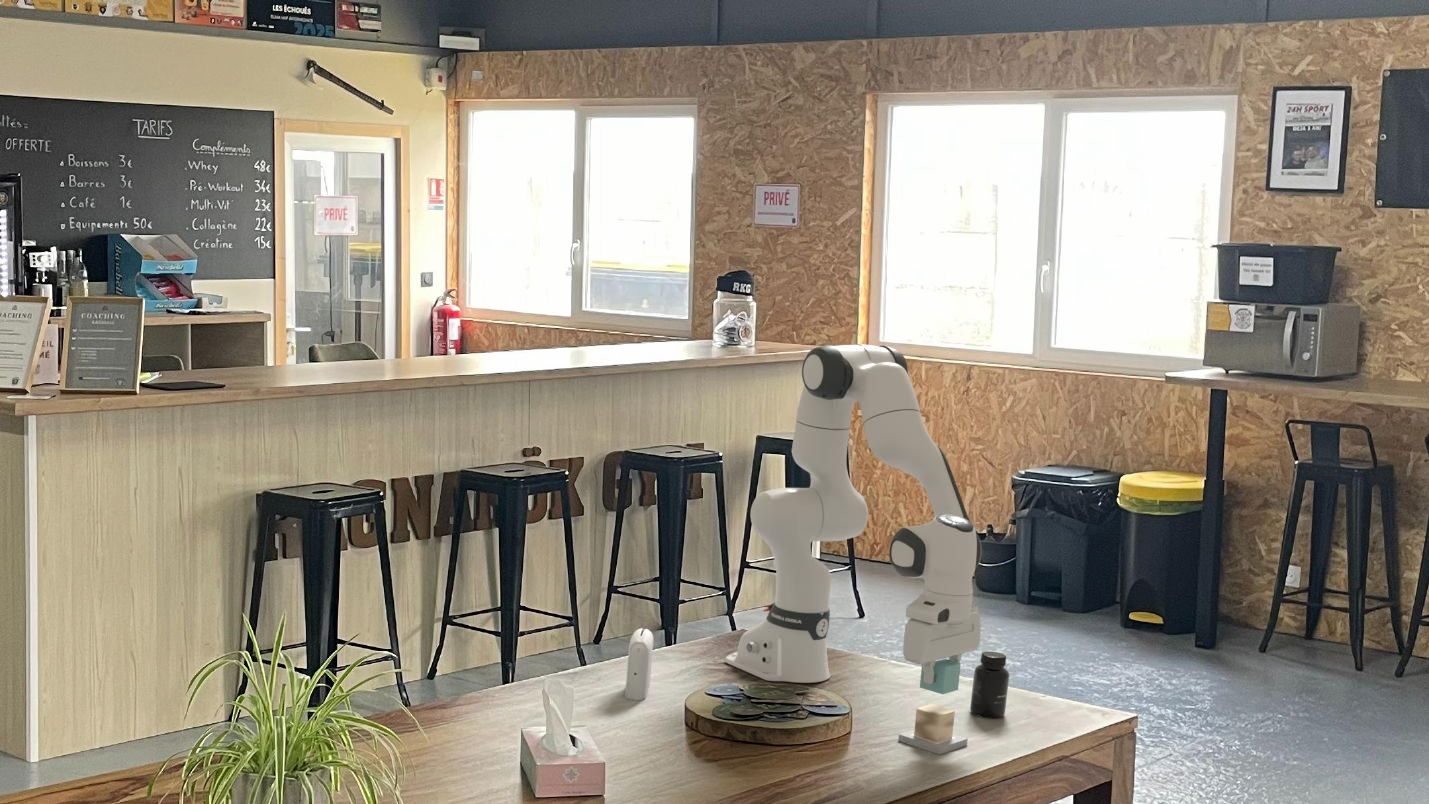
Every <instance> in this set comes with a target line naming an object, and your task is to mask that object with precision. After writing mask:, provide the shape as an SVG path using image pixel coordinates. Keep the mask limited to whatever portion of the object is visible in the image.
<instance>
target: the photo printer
mask: <svg viewBox="0 0 1429 804" xmlns="http://www.w3.org/2000/svg"><path fill="white" fill-rule="evenodd" d="M654 639H655V638H654V634H653V632H651V630H649V629H648V628H645V629H644V628H638V629H636V630H635V631H634V632H633V634H632V635H631V637H630V640H629V645H628V655H627V657H628V658H627V669H626V681H625V691H624V692H625V698H627V699H628V700H632V701H642V700H645V699H646V697H647V695H648V692H649V688H650V684H651V674H652V665H653V664H652V663H653V650H654V649H653V648H654Z"/></svg>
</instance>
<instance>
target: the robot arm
mask: <svg viewBox="0 0 1429 804" xmlns="http://www.w3.org/2000/svg"><path fill="white" fill-rule="evenodd" d="M801 376H802V382H803V387H802V391H801V394H800V398H799V401H798V407H797V411H796V417H795V426H794V432H793V438H792V440H793V441H792V447H791V454H792V458H793V460H794V462H795V463H796V465H797V466H798V467H800V468H801V469H802V470H804V471H806V472H807V473H808V474H809V476H810V486H809V487H779V488H774V489H769V490H765V491H762V492H760V493H758V494H757V496H756V497H755V498H754V500H753V502H752V504H751V508H750V522H751V525H752V528H753V529H754V532H755V533H756V534H757V535H758V536H759V537H760V538H761V539H762V541H764V542H765V543H766V544H767V545H768V547H769V549H770V551H771V554H772V556H773V559H774V562H775V570H776V576H775V577H776V578H775V579H776V581H775V582H776V583H775V598H774V599H775V600H774V602H773V603H771V604H769V605H764V606H763V608H764V609H763V612H768V613H767V615H766V618H765V619H764V620H763V621H761V622H760V623H758V624H756V625H754V626H753V627H752V628H750V629H748V630H747V631H745V632H744V633H743V634H742V635H741V637H740V640H739V642H738V646H737V651H735V652H733V653H730V654H728V655H726V657H725V661H724V662H725V663H726V664H729V665H730V666H733V667H734V668H735V667H736V668H737V669H740V670H742V671H744V672H747V673H748V674H751V675H754V676H756V677H758V678H760V679H763V680H765V681H768V682H769V681H770V682H790V683H803V684H804V683H808V684H811V683H819V682H825V681H827V680H828V679H830V677H831V674H830V670H829V664H828V662H829V661H828V650H827V635H828V631H829V626H830V617H831V616H830V615H831V610H830V608H829V605H830V604H829V603H830V602H829V601H830V593H831V591H830V590H831V584H832V583H831V581H832V576H831V573H830V571H829V568H828V567H827V566H826V565H825V564H824V563H823V562H822V561H820V560H819V559H817V558H816V557H814V556H813V554H812V548H811V545H812V542H840V541H845V540H849V539H853V538H856V537H859V536H861V535H862V534H863V532H864V531H865V529H866V528H867V524H868V521H869V508H868V504H867V501H866V500H865V498H864V497H863V496H862V495H861V493H859V492H858V491H857V489H856V488H855V487H854V486H853V483H852V482H851V480H850V476H849V473H848V466H847V457H848V456H847V455H848V446H849V445H848V443H849V436H850V429H851V420H852V413H853V407H854V404H855V403H856V402H858V404H859V406H860V410H861V416H862V423H863V428H864V433H865V438H866V440H867V441H866V442H867V444H868V447H869V449H870V451H871V452H872V454H873V455H874V457H876V458H877V459H878V460H879V461H881V462H882V463H883V464H885V465H887V466H889V467H892V468H894V469H897V470H899V471H902V472H904V473H906V474H908V475H909V476H911V477H913V478H914V479H916V480H917V481H918V482H919V483H920V484H921V485H922V487H923V488H924V489H925V491H926V493H927V496H928V499H929V502H930V505H931V508H932V510H933V513H934V516H935V517H934V518H932V520H931V521H928V522H926V523H923V524H917V525H912V526H906V527H901V528H899V529H898V530H897V531H896V532H895V533H894V535H893V536H892V538H891V541H890V545H889V560H890V562H891V565H892V567H893V569H894V570H895V571H896V573H898V574H899V575H900V576H902V577H905V578H910V579H923V580H924V586H923V592H922V594H920V595H918V597H916V599H915V600H914V601H912V602H911V603H910V604H908V605H907V606H906V608H905V609H906V610H905V617H906V618H909V619H908V620H907V622H906V624H905V628H904V635H903V646H902V647H903V648H902V649H903V650H902V654H903V658H904V660H905V662H906V661H907V662H910V663H912V664H916V665H920V666H921V670H922V669H923V672H924V682H925V683H928V684H932V683H935V682H936V676H937V674H935V673H934V669H933V666H935V660H939V659H943V658H944V659H947V658H948V660H951V661H954V662H958V663H961V661H962V656H963V655H962V654H966V653H970V652H973V651H977V650H978V648H979V646H980V645H981V643H980V642H981V632H982V631H981V628H982V627H981V616H980V613H979V607H978V605H977V603H976V602H975V601H974V600H973V594H974V588H973V576H974V573H975V570H977V568H978V567H979V564H980V562H981V559H982V555H983V546H982V541H981V538H980V537H979V535H978V533H977V531H976V528H975V525H974V524H973V523H972V522H971V520H970V518H969V515H968V513H967V510H966V508H965V505H964V503H963V502H964V501H963V499H962V496H961V494H960V491H959V488H958V485H957V483H956V479H955V477H954V474H953V472H952V469H951V466H950V464H949V462H948V459H947V457H946V455H945V453H944V451H943V450H942V449H941V447H939V446H938V445H937V444H936V443H935V441H934V440H933V439H932V437H931V435H930V434H929V432H928V429H927V428H926V425H925V424H924V420H923V417H922V413H921V410H920V405H919V401H918V398H917V394H916V391H915V389H914V386H913V383H912V381H911V378H910V377H909V376H910V375H909V369H908V363H907V360H906V358H905V356H904V355H903V353H902V352H901V351H900V350H898V349H897V348H896V349H895V348H894V347H891V346H886V345H879V346H877V345H873V344H872V345H871V344H863V343H853V344H841V345H838V344H837V345H831V344H827V345H820V346H817V347H814V348H812V349H810V351H808V353H807V354H806V356H805V358H804V360H803V364H802V367H801Z"/></svg>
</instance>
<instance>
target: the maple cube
mask: <svg viewBox="0 0 1429 804" xmlns="http://www.w3.org/2000/svg"><path fill="white" fill-rule="evenodd" d="M915 713H916V714H915V720H914V721H915V723H914V729H915V731H914V735H916V736H919V737H922V738H925V739H928V740H931V741H934V742H940V741H943V740H946V739H949V738H952V734H954V733H953V732H954V722H955V713H956V711H955V710H953V709H950V708H946V707H943V706H940V705H936V704H934V703H931V704H927V705H923V706H920V707H917V708H916V712H915Z"/></svg>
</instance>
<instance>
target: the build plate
mask: <svg viewBox="0 0 1429 804" xmlns="http://www.w3.org/2000/svg"><path fill="white" fill-rule="evenodd" d="M914 731H915V728H914V729H911V730H907V731H905V732H902V733H899V734H898V742H901V743H905V744H907V745H910V746H913V747H916V748H919V749H922V750H926V751H928V752H930V753H931V752H932V753H935V754H937V755H942V754H945V753H948V752H951V751H953V750H956V749H959V748H962V747H966V746H968V738H967V737H963V736H962V735H961V736H960V735H958V734H954V733H953V734H952V738H949V739H946V740H943V741H940V742H934V741H931V740H928V739H925V738H922V737H919V736H916V735H914Z"/></svg>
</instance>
